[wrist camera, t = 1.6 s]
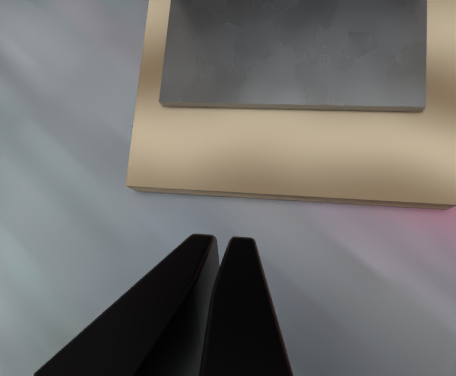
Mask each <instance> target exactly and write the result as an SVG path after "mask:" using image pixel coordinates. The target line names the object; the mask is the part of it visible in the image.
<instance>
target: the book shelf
mask: <svg viewBox="0 0 456 376" xmlns="http://www.w3.org/2000/svg"><path fill="white" fill-rule="evenodd" d="M170 2H171V0H149V6H148V14H147V22H146V30H145V37H144V45H143V53H142V61H141V69H140V77H139V85H138V92H137V100H136V108H135V116H134V124H133V132H132V140H131V148H130V155H129V163H128V171H127V179H126V186H127V187H129V188H131V189H134V190H136V191H144V192H160V193H177V194H194V195H211V196H228V197H245V198H262V199H278V200H295V201H312V202H329V203H346V204H363V205H379V206H396V207H413V208H430V209H449V208H451V207H454V206H456V0H427V57H426V107H425V109H424V110H423V112H408V111H360V110H312V109H264V108H216V107H168V106H162V105H161V104H160V103H159V95H160V87H161V78H162V70H163V61H164V53H165V44H166V36H167V28H168V19H169V11H170Z"/></svg>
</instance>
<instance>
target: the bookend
mask: <svg viewBox="0 0 456 376" xmlns="http://www.w3.org/2000/svg"><path fill="white" fill-rule="evenodd" d="M426 57H427V0H171V2H170V11H169V19H168V28H167V36H166V44H165V53H164V61H163V70H162V78H161V87H160V95H159V103H160V104H161V105H162V106H168V107H216V108H264V109H312V110H360V111H408V112H423V110H424V109H425V107H426Z"/></svg>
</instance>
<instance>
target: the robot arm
mask: <svg viewBox="0 0 456 376" xmlns="http://www.w3.org/2000/svg"><path fill="white" fill-rule="evenodd" d="M34 376H293V373H292V369H291V365H290V362H289V358H288V355H287V351H286V348H285V344H284V341H283V337H282V334H281V330H280V327H279V323H278V320H277V316H276V313H275V309H274V306H273V302H272V299H271V295H270V292H269V288H268V284H267V281H266V277H265V274H264V270H263V267H262V263H261V260H260V256H259V253H258V249H257V246H256V242H255V240H254V239H253V238H248V237H232V238H231V239H230V240H229V243H228V246H227V248H226V251H225V254H224V257H223V260H222V262H221V265H219V255H218V245H217V239H216V237H215V236H213V235H208V234H192V235H190V236H189V237H188V238H187V239H186V240H185V241H183V242H182V243H181V244H180V245H179V246H178V247H177V248H175V249H174V250H173V251H172V252H171V253H170V254H169V255H168V256H166V257H165V258H164V259H163V260H162V261H161V262H160V263H159V264H157V265H156V266H155V267H154V268H153V269H152V270H151V271H149V272H148V273H147V274H146V275H145V276H144V277H143V278H142V279H140V280H139V281H138V282H137V283H136V284H135V285H134V286H133V287H131V288H130V289H129V290H128V291H127V292H126V293H125V294H123V295H122V296H121V297H120V298H119V299H118V300H117V301H116V302H114V303H113V304H112V305H111V306H110V307H109V308H108V309H107V310H105V311H104V312H103V313H102V314H101V315H100V316H99V317H97V318H96V319H95V320H94V321H93V322H92V323H91V324H90V325H88V326H87V327H86V328H85V329H84V330H83V331H82V332H81V333H79V334H78V335H77V336H76V337H75V338H74V339H73V340H71V341H70V342H69V343H68V344H67V345H66V346H65V347H64V348H62V349H61V350H60V351H59V352H58V353H57V354H56V355H55V356H53V357H52V358H51V359H50V360H49V361H48V362H47V363H45V364H44V365H43V366H42V367H41V368H40V369H39V370H38V371H36V372H35V373H34Z"/></svg>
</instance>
